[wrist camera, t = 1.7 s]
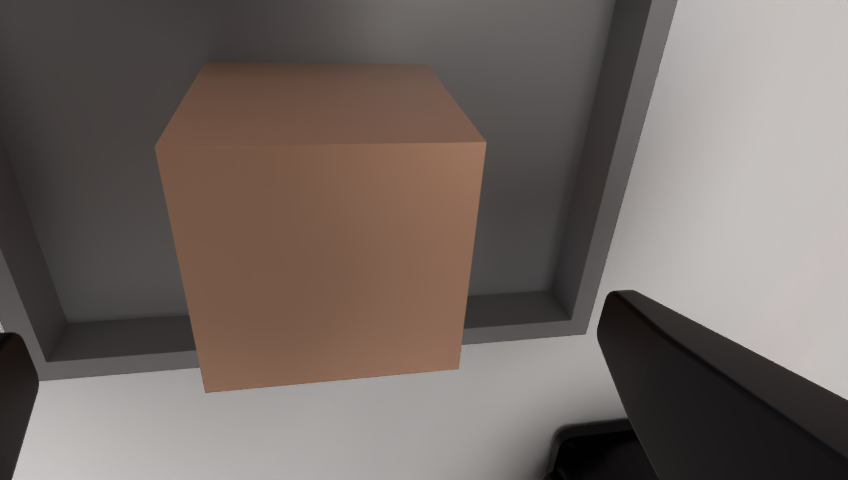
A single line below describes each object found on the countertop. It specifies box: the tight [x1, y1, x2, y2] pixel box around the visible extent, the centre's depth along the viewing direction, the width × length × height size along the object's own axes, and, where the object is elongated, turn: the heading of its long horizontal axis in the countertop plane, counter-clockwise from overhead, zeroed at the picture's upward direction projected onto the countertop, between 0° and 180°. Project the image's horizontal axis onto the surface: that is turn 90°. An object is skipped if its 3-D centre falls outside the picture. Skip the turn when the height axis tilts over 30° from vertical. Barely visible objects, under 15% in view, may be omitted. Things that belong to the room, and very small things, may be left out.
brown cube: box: [155, 62, 486, 393], centre depth 12 cm, size 5×5×5 cm
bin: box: [0, 0, 677, 381], centre depth 13 cm, size 15×10×2 cm
